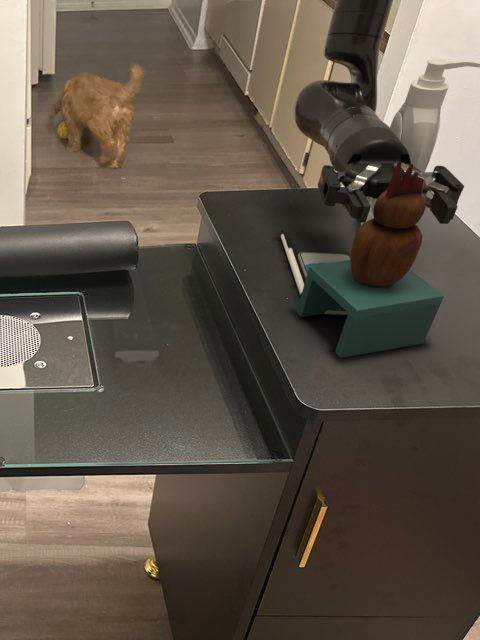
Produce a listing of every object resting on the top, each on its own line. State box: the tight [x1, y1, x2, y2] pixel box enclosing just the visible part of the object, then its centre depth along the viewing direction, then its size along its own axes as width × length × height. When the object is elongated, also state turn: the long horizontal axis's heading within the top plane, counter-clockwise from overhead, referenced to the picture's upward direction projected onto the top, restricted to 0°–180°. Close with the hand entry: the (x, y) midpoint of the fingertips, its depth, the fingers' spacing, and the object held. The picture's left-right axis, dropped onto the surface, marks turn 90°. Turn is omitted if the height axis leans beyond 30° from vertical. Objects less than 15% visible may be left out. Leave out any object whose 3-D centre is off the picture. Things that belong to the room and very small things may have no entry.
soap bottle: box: [360, 58, 480, 226], centre depth 101 cm, size 13×8×24 cm, turn 164°
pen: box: [280, 229, 305, 297], centre depth 102 cm, size 1×19×1 cm, turn 171°
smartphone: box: [297, 251, 351, 316], centre depth 99 cm, size 7×1×15 cm
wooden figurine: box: [350, 161, 427, 287], centre depth 82 cm, size 7×6×15 cm
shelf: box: [296, 260, 445, 359], centre depth 89 cm, size 11×10×7 cm
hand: (406, 215), depth 79 cm, fingers open, 8 cm apart
